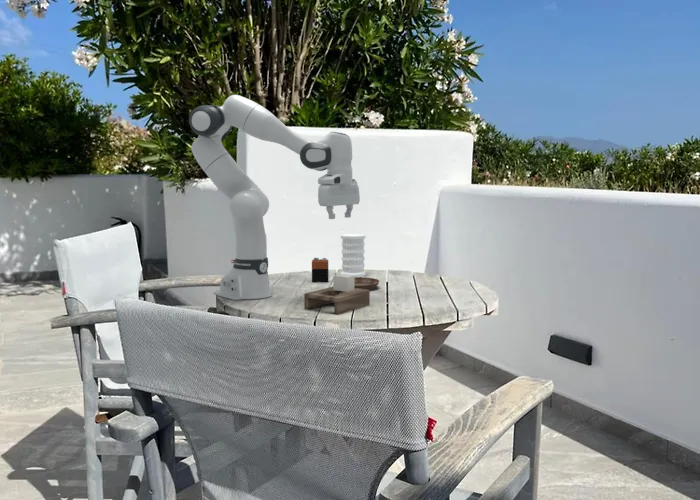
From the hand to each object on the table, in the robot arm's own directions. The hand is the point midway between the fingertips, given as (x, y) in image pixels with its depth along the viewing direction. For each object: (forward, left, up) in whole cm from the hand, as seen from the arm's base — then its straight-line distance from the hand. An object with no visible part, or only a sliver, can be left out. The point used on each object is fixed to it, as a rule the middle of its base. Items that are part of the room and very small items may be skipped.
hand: (339, 218), depth 217 cm
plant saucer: (-8, +22, -30) cm, 38 cm away
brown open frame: (+7, -11, -29) cm, 32 cm away
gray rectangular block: (+7, -7, -27) cm, 29 cm away
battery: (-29, +25, -29) cm, 48 cm away
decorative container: (-27, +46, -29) cm, 61 cm away
